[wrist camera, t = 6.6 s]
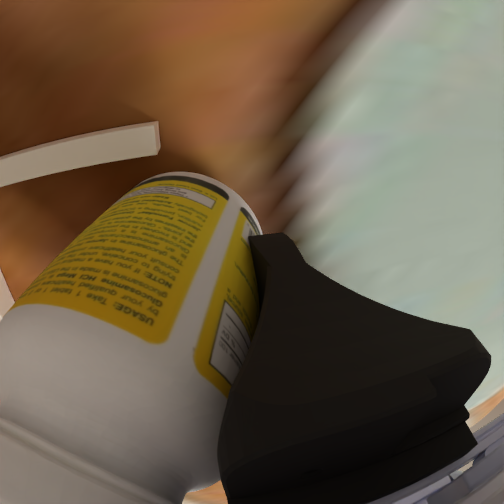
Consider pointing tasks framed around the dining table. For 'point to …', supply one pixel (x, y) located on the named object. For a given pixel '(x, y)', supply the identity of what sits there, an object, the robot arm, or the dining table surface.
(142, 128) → the tester bay
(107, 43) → the dining table surface
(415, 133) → the dining table surface
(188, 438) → the pill bottle
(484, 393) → the dining table surface
